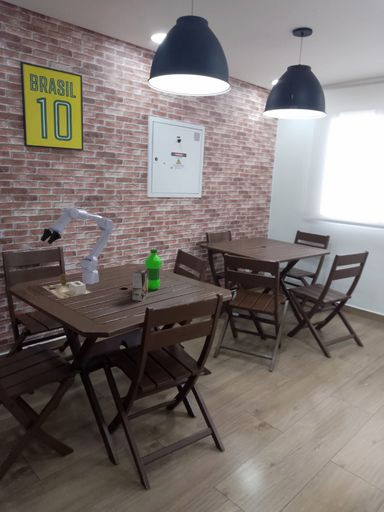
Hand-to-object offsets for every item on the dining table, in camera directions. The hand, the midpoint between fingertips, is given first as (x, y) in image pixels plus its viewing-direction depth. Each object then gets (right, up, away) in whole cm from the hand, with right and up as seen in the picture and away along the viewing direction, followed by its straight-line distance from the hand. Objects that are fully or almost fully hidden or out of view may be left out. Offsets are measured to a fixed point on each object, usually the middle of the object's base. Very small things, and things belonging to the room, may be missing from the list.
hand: (45, 241), depth 206 cm
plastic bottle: (+58, -29, +25) cm, 69 cm away
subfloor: (+8, -29, +11) cm, 32 cm away
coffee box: (+53, -32, +6) cm, 62 cm away
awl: (+4, -26, +18) cm, 32 cm away
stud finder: (+16, -29, +7) cm, 34 cm away
